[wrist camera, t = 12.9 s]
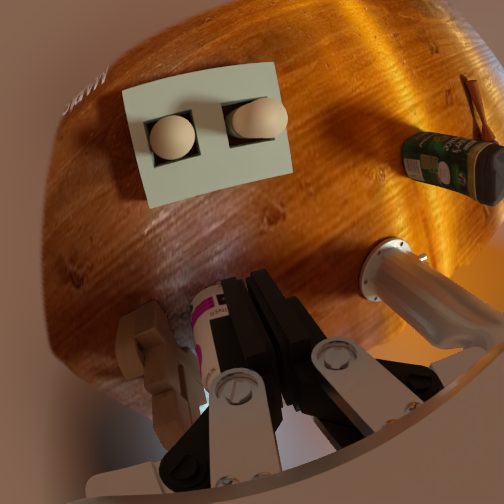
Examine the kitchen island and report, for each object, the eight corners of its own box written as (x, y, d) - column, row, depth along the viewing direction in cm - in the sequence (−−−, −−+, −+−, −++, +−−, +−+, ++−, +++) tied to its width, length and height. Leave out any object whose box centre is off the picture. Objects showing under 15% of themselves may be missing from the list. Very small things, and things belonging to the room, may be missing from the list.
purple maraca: (483, 78, 31) (504, 157, 39) (462, 80, 37) (485, 156, 45) (479, 83, 30) (501, 168, 38) (457, 85, 36) (480, 166, 44)
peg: (185, 119, 28) (190, 109, 19) (191, 149, 29) (199, 153, 20) (153, 128, 27) (144, 122, 18) (160, 158, 29) (155, 165, 20)
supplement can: (199, 334, 40) (217, 415, 26) (181, 291, 36) (193, 374, 23) (249, 319, 41) (285, 394, 28) (238, 274, 37) (276, 348, 24)
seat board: (262, 69, 27) (297, 46, 18) (279, 168, 33) (319, 181, 24) (128, 96, 25) (108, 78, 16) (152, 200, 30) (144, 226, 22)
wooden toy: (116, 315, 35) (99, 484, 13) (155, 298, 35) (163, 477, 13) (169, 378, 42) (190, 513, 20) (203, 365, 43) (240, 503, 21)
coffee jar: (427, 126, 36) (516, 142, 20) (435, 166, 40) (517, 193, 24) (394, 140, 36) (495, 160, 20) (404, 184, 40) (495, 219, 23)
